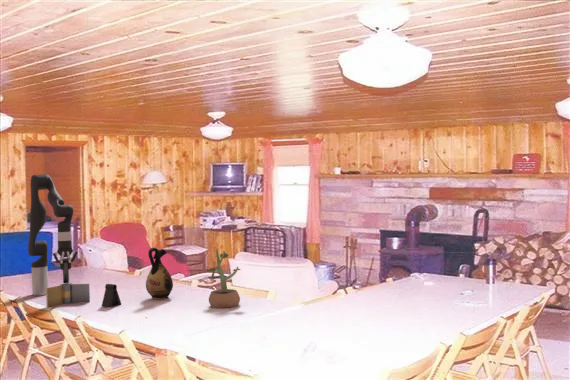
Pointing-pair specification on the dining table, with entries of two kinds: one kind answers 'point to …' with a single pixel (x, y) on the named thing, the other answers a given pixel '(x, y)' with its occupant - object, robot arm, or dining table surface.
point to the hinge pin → (65, 270)
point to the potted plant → (223, 287)
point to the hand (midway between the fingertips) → (65, 269)
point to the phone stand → (111, 296)
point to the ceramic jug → (158, 277)
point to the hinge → (67, 294)
